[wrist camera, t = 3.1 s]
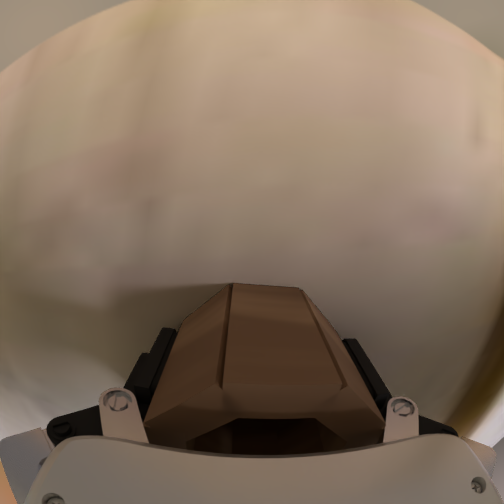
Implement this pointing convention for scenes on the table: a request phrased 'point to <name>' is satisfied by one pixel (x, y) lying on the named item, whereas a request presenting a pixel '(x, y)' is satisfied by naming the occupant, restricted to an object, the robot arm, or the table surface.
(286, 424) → the walnut ring
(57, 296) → the table surface
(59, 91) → the table surface
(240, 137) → the table surface
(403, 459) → the robot arm
